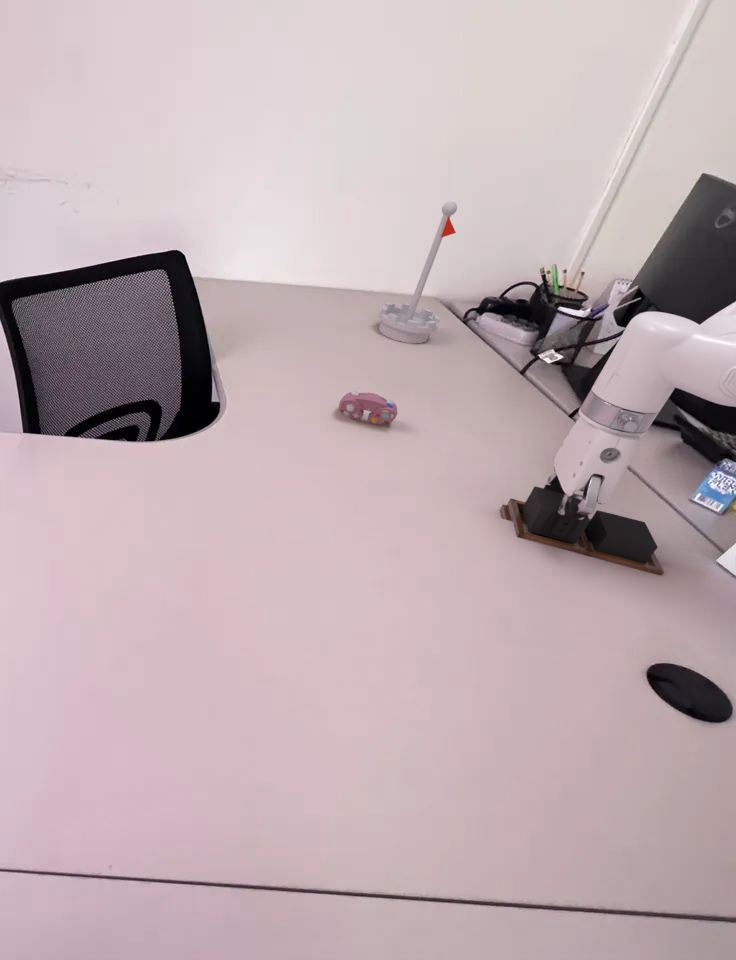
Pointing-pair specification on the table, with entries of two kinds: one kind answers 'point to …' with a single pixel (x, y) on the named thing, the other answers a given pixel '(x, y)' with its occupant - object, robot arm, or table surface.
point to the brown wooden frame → (516, 515)
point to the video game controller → (368, 407)
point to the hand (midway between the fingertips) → (550, 522)
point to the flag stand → (417, 297)
